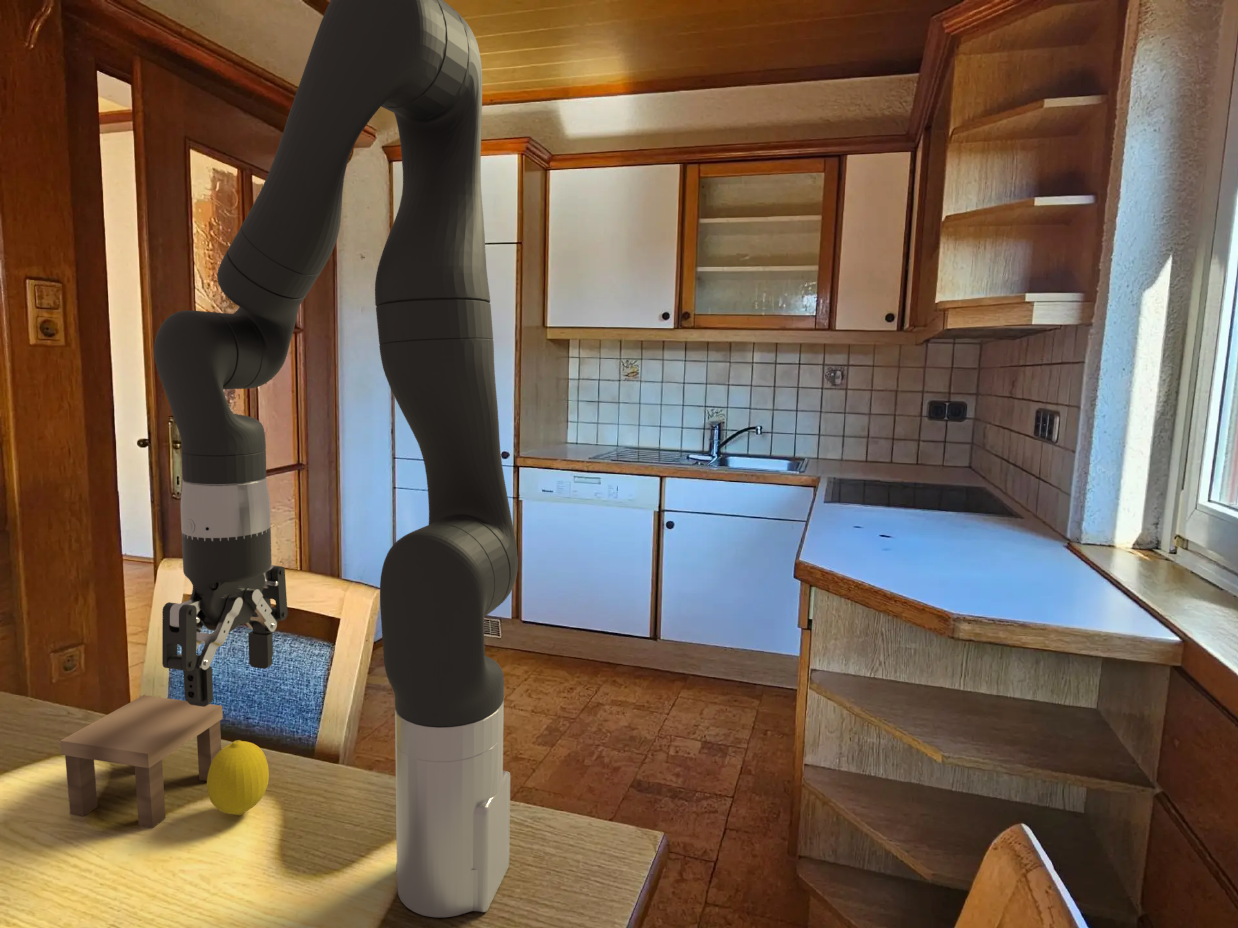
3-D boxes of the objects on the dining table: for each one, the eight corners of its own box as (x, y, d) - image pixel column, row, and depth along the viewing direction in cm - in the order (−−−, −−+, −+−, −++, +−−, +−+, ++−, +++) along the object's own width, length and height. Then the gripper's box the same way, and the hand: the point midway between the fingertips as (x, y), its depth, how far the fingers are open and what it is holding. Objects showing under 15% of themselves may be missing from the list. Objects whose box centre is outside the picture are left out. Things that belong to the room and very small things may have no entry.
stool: (225, 772, 81) (222, 705, 80) (152, 829, 71) (147, 753, 70) (147, 761, 82) (143, 695, 81) (66, 814, 73) (60, 740, 72)
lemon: (244, 835, 71) (241, 759, 69) (195, 826, 72) (191, 751, 70) (281, 802, 76) (279, 731, 75) (235, 794, 77) (232, 724, 76)
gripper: (206, 547, 62) (213, 724, 64) (307, 512, 76) (309, 659, 78) (130, 539, 63) (140, 713, 65) (243, 506, 77) (247, 651, 79)
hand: (232, 684), depth 72 cm, fingers open, 8 cm apart
